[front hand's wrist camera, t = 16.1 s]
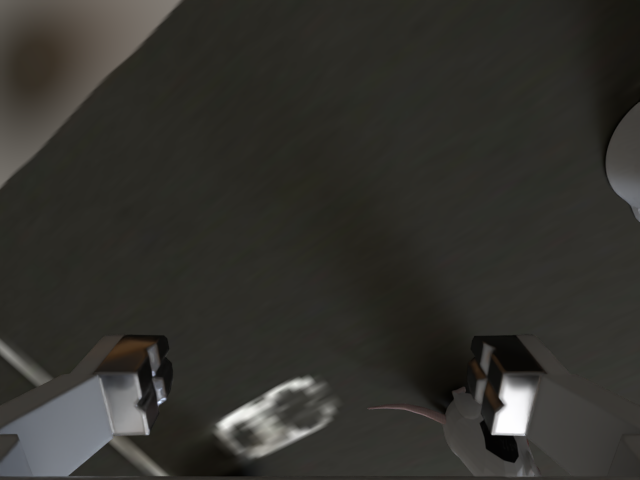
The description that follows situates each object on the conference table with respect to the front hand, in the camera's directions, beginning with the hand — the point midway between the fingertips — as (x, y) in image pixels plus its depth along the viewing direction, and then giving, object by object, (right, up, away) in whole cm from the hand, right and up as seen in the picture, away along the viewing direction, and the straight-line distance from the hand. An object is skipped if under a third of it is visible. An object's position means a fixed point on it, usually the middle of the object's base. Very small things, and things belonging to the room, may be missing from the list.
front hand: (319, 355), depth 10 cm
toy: (+19, -22, +51) cm, 58 cm away
